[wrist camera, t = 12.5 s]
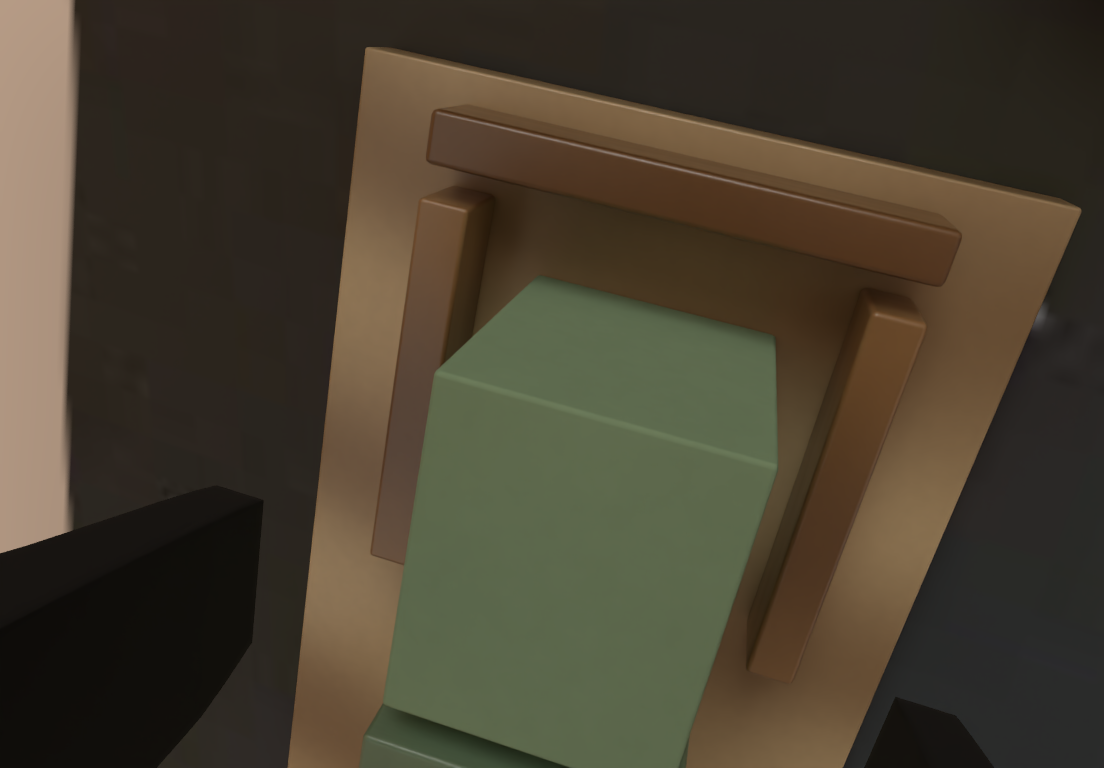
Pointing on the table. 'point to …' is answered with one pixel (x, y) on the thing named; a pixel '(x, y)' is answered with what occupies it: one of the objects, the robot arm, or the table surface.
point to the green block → (583, 525)
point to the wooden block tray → (689, 286)
